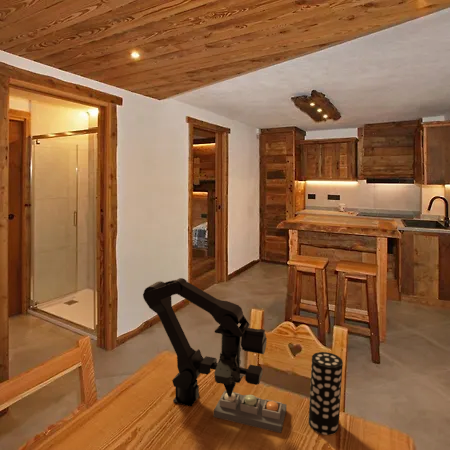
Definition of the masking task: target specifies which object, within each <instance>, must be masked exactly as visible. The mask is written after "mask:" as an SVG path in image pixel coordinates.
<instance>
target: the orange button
mask: <svg viewBox="0 0 450 450" xmlns="http://www.w3.org/2000/svg"><path fill="white" fill-rule="evenodd" d="M274 401H275V400H272V401H269V402H267V407H266V409H267V410H272V411H276V412H278V404H277V403H276V402H274Z"/></svg>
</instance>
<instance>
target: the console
mask: <svg viewBox="0 0 450 450" xmlns="http://www.w3.org/2000/svg"><path fill="white" fill-rule="evenodd" d="M226 393H227V392H226V390H224V391H223V392H222V394H221V396H220V398H219V399H218V401H217V404H216V405H215V407H214V409H213V418H217V419H221V420H225V421H229V422H232V423H233V422H234V423H237V424H238V423H239V424H242V425H246V426H250V427H254V428H259V429H262V430H267V431H270V432H275V433H279V434H282V431H283V428H284V427H283V426H284V424H285V423H284V422H285V418H286V412H287V404H286V403H283V402H280V401H276V400H272V399H267V398H266V399H263V398H261V397H257V396H256V398H257V402H256V407H254V406H249V405H245V397H246V396H247V395H248V394H241V393H239V392H234V391H233V393H234V394H235V395H236V400H235V402H232V401H227V400H224V395H225V394H226ZM269 401H274V402H276V403H277V404H278V412H276V411H272V410H267V409H266V407H267V402H269Z"/></svg>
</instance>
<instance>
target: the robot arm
mask: <svg viewBox="0 0 450 450" xmlns="http://www.w3.org/2000/svg"><path fill="white" fill-rule="evenodd" d="M174 295H178V296H180V297H181V298H183V299H185V300H187V301H188V302H190V303H191V304H193V305H194V306H197V307H198V308H200V309H202V310H203V311H205V312H207V313H208V314H210V315H211V317H212V318H213V319H214V321H215V322H216V323H217V324H219V325H218V326H217V327H216V328H215V330H214V333H215V334H221V338H220V339H221V340H220V341H221V342H220V345H221V346H220V347H221V348H220V353H219V360H218V362H217V358H216V357H213V356H207V355H206V356H204V357H203V355H202V353H201V352H202V351H201V350H200V349H197V350H195V349H194V348H192V346H191V345H190V343H189V341H188V337H186V334H185V332H184V330H183V328H182V325H181V323H180V321H179V319H178V318H177V315H176V313H175V311H174V308H173V306H172V304H173V303H172V297H173V296H174ZM142 297H143V301H144V302H145V303H146V305H147V306H148V307H149V309H151V310H152V312H154V313H155V314H156V315H157V316H158V318H159V320H160V322H161V324H162V327H163V328H164V331H165V333H166V335H167V337H168V340H169V341H170V344H171V346H172V348H173V350H174V352H175V354H176V361H177V363H176V366H177V370H178V372H177V374H176V375H175V376H174V377H173V378H172V384H173V387H174V388H175V397H174V399H173V400H172V402H173V403H175V404H179V405H183V406H187V407H193V406H194V404H195V403H196V401H197V400H198V399H199V398H200V397H199V396H200V393H199V391H200V386H199V384H198V378H199V376H200V375H201V374H202V375H209V374H210V373H211V370H214V372H213V373H214V380H215V383H216V384H222V385H224V389H225V391H226V392H227V394H228V396H230V397H231V395H232V393H233V392H234V389H235V387H236V384H240V383H241V381H242V379H243V377H244V380H245V381H246V383H247V384H250V385H256V386H257V385H260V382H261V380H262V377H263V368H262V367H261V366H260V365H255V364H249V365H248V368H245V367H244V366H242V365H241V363H242V361H241V351H244V352H249V353H254V354H258V355H259V354H260V355H265V353H266V349H267V340H268V338H267V334H266V330H265V329H263V328H258V329H257V328H252V327H251V328H250V322H249V321H248V319H247V318H246V317H245V315H244V311H243V308H242V307H241V306H240V305H239V304H237V303H233V302H231V301H228V300H221V299H218V298H216V296H215V297H214V296H213V295H211V294H209V293H208V292H206V291H204V290H203V289H200V288H199V287H197V286H195V285H193V284H192V283H191V282H189V281H187V280H186V279H185V278H183V277H181V278H180V277H179V278H177V279H173V280H172V279H171V280H169V281H165V282H164V281H161V280H159V281H156V282H154V283H153V284H151V285H149V286H147V287H146V288H145V289H144V291H143V294H142ZM239 324H240V325H239Z"/></svg>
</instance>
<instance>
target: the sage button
mask: <svg viewBox="0 0 450 450" xmlns="http://www.w3.org/2000/svg"><path fill="white" fill-rule="evenodd" d="M246 395H247V396H246V397H245V405H249V406H254V407H256V402H257V398H256V397H257V396H256V395H253V394H246Z"/></svg>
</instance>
